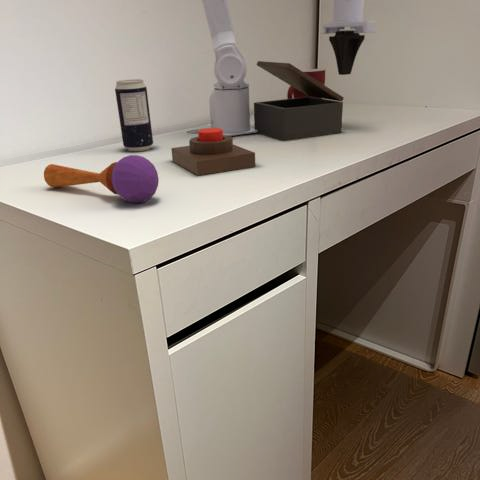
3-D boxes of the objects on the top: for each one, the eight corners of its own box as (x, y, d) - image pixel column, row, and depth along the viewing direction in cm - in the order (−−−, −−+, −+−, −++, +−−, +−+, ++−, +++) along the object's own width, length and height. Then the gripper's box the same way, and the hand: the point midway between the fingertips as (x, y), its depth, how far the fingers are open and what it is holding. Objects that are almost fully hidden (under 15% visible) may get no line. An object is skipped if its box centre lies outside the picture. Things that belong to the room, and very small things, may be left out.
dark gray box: (283, 140, 99) (283, 108, 96) (254, 131, 109) (253, 102, 106) (341, 132, 104) (343, 102, 101) (308, 124, 114) (309, 96, 111)
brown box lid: (287, 67, 93) (289, 63, 93) (256, 64, 103) (257, 60, 103) (342, 101, 101) (344, 97, 101) (308, 96, 111) (309, 92, 111)
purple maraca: (68, 154, 76) (166, 155, 66) (72, 195, 78) (168, 202, 68) (33, 154, 72) (133, 155, 61) (38, 197, 74) (136, 206, 63)
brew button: (195, 141, 84) (194, 129, 83) (217, 138, 85) (216, 127, 84) (204, 145, 81) (203, 133, 80) (227, 141, 82) (226, 130, 81)
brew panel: (172, 161, 88) (169, 137, 86) (225, 153, 91) (223, 130, 89) (197, 175, 78) (195, 148, 76) (255, 166, 82) (254, 140, 80)
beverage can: (159, 146, 99) (151, 79, 93) (142, 152, 95) (133, 82, 89) (135, 145, 101) (126, 79, 95) (118, 151, 97) (107, 82, 91)
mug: (304, 120, 120) (305, 73, 115) (278, 117, 125) (277, 72, 120) (330, 113, 126) (332, 69, 121) (304, 111, 131) (304, 68, 126)
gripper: (391, -8, 92) (383, 74, 99) (343, -3, 104) (340, 71, 110) (359, -8, 90) (354, 77, 96) (314, -2, 101) (312, 73, 108)
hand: (344, 74), depth 103 cm, fingers closed
